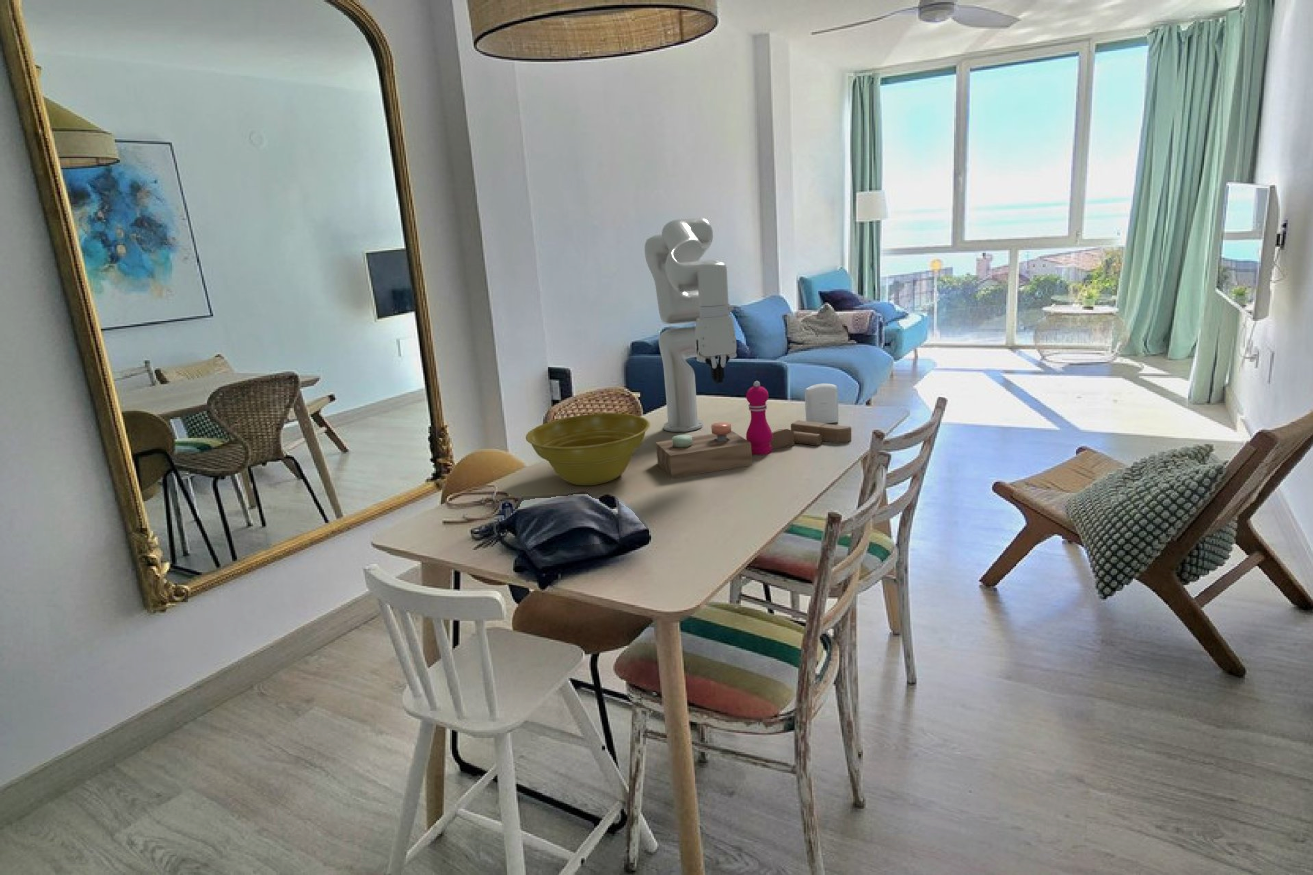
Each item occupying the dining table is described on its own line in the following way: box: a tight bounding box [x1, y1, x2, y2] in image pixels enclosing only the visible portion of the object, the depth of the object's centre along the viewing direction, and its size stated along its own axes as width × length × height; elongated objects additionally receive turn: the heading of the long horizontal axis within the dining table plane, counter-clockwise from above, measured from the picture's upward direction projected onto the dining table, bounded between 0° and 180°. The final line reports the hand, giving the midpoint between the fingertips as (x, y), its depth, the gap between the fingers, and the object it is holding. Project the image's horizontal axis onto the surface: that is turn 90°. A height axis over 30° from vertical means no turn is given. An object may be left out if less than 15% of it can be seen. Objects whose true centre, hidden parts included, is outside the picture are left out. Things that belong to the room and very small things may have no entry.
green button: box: [671, 434, 693, 448], centre depth 199 cm, size 5×5×8 cm
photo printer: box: [804, 383, 839, 424], centre depth 230 cm, size 10×4×12 cm, turn 99°
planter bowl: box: [525, 412, 651, 486], centre depth 197 cm, size 32×32×13 cm
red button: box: [711, 421, 732, 442], centre depth 201 cm, size 5×5×8 cm
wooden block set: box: [769, 420, 852, 449], centre depth 211 cm, size 17×6×18 cm
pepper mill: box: [745, 380, 773, 456], centre depth 206 cm, size 7×7×20 cm
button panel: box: [655, 430, 753, 479], centre depth 201 cm, size 14×22×6 cm, turn 105°
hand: (718, 381), depth 197 cm, fingers closed
